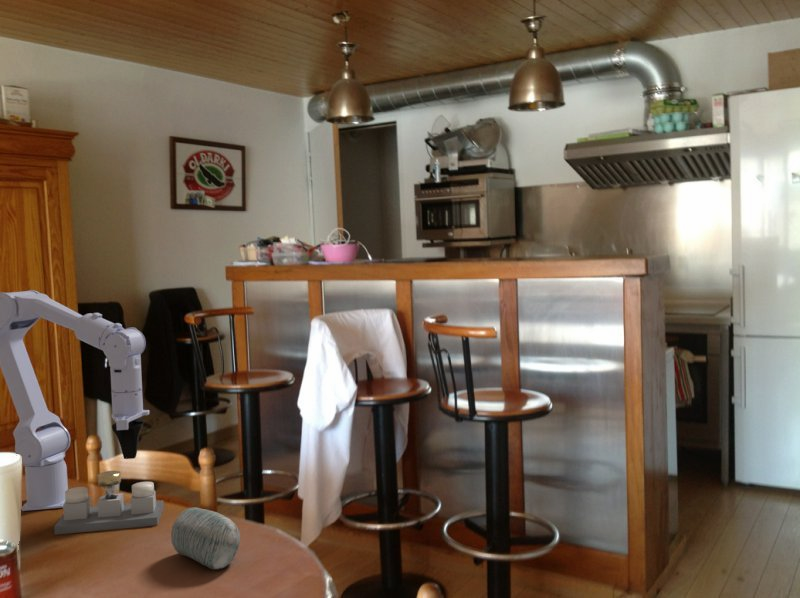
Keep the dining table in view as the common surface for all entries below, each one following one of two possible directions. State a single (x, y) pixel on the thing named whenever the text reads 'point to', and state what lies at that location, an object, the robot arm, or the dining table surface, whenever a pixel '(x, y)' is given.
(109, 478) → the brass knob
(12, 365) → the robot arm
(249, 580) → the dining table surface
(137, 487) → the ivory knob
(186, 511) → the spool
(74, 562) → the dining table surface
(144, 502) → the mount
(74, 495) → the ivory knob
